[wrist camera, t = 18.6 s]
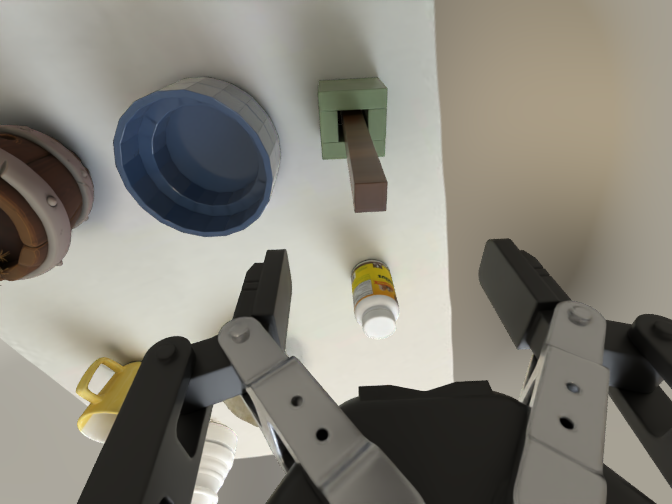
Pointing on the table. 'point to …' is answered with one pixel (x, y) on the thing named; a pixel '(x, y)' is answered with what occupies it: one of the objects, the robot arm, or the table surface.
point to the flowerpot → (38, 201)
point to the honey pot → (214, 463)
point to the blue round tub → (198, 156)
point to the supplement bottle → (374, 299)
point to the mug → (104, 398)
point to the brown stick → (363, 164)
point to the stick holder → (351, 97)
